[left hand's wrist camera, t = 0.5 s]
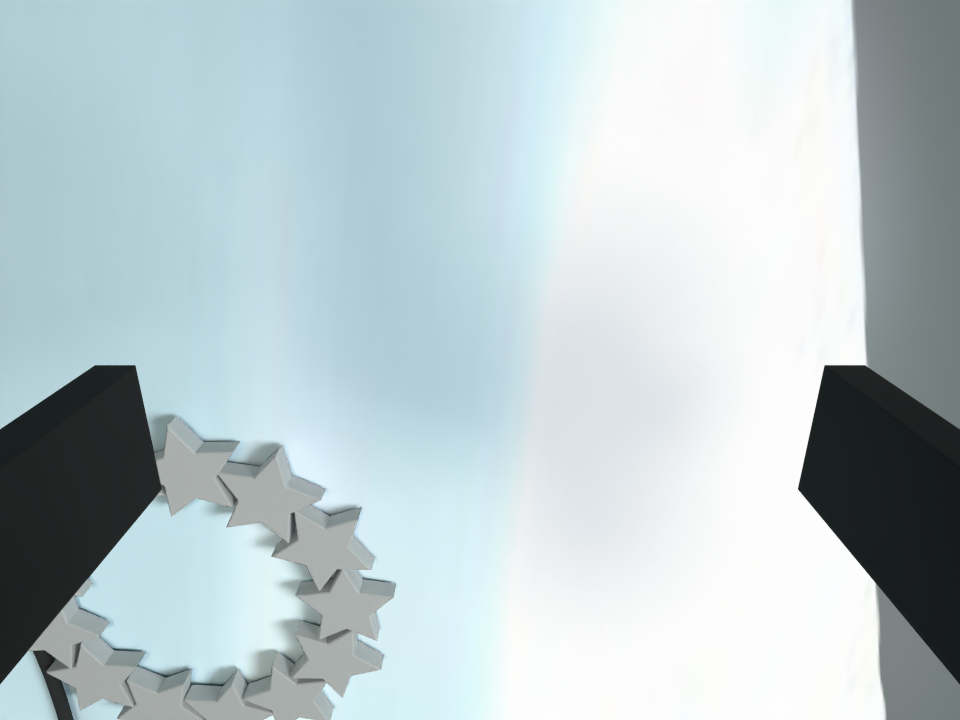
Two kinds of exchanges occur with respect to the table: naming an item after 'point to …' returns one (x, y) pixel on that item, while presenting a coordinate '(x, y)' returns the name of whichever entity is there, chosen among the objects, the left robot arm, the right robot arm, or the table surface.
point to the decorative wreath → (317, 544)
